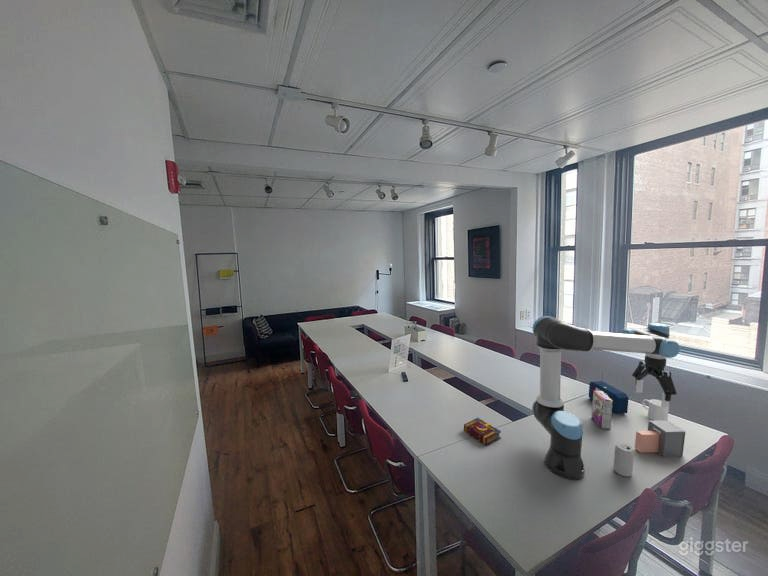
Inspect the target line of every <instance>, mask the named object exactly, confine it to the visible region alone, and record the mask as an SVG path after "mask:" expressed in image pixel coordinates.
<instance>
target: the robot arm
mask: <svg viewBox="0 0 768 576" xmlns="http://www.w3.org/2000/svg"><path fill="white" fill-rule="evenodd" d="M532 333H533V335H534V336H535V337H536V346H537V347H538V348H539V395H537V396H536V398H535V401H534V402H533V403H532V406H531V410H532V414H533V416H534V418H535V419H536V420H537V422H539V423H540V425H541V426H542V427H543V428H544V429H545V431H547V433H548V434H549V435H550V442H549V443H550V444H549V445H550V446H549V448H548V450H547V452H546V454H545V456H544V463H545V466H546V468H547V469H549V471H551V472H552V473H554V475H557V476H559V477H561V478H564V479H567V480H581V479H582V478H584V476H585V465H584V461H583V458H582V446H583V445H582V443H583V434H584V427H583V423H582V420H580V418H579V417H577V416H576V415H575V414H573V413H570V412H568V411H565V410H564V408H565V407H564V405H565V403H564V400H562V398H561V371H562V369H561V368H562V366H561V365H562V351H563V350H564V351H573V352H574V351H576V352H590V351H591V350H596V351H597V350H598V351H608V352H619V353H620V352H621V353H622V352H623V353H637V354H645V355H644V359H643V360H641V361H639V362H638V365H637V366H636V368H635V370H634V371H633V372H632V374H631V375H632V377H634V379H635V393H636V394H641V393H642V394H643V387H644V380H643V379H644V378H646V377H647V376H649V375H650V376H652V377H655V379H656V380H657V382H658V383H659V384H660V387H661V388H662V391H663V392H662V395H661V401H662V404H661V407H669V408H670V402H671V399H672V396H674V395H675V396H676V395H677V393H678V392H677V391H676V390H677V389H676V387H675V385H674V381H673V377H672V372H671V371H667V370H665V367H666V366H667V359H672V358H676V357H677V356H678V355H679V353H680V349H681V346H680V344H679V343H678V342H677V341H675V340H674V339H670V326H669V325H667V324H665V323H659V322H650V323H648V325H647V327H646V328H645V327H644V328H643V327H641V328H631V327H630V328H623V329H621V330H620V332H619V333H618V332H617V333H616V332H608V331H607V332H605V331H595V330H594V331H593V330H591V329H589V328H585V327H584V328H583V327H578V326H577V325H576V326H575V325H573V324H570V323H568V322H565V321H562V320H560V319H558V318H556V317H554V316H549V315H544V316H540V317H538V318H537V319H536V320H535V321H534V323H533V325H532Z"/></svg>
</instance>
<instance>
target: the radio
mask: <svg viewBox="0 0 768 576" xmlns="http://www.w3.org/2000/svg"><path fill="white" fill-rule="evenodd" d="M603 374H604V371H602V372H601V379H603V377H604V376H603ZM588 388H589V389H588V398H589V399H590V401H592V402H593V391H594V390H596V391H603V392H604V393H605V394H606V395H607V396H608V397H609V398H610V399H611V400H612V401H613V405H612V415H619V414H621V415H622V414H628V409H629V399H630V398H629V396H628V395H627V394H626V393H625V392H623V391H622V390H620V389H618V388H616V387H614V386H613V385H610V384H609V383H606V382H605V381H603V380H600V381H590V382H589V387H588Z"/></svg>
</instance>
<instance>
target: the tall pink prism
mask: <svg viewBox="0 0 768 576" xmlns="http://www.w3.org/2000/svg"><path fill="white" fill-rule="evenodd" d="M634 443H635V444H634V450H636V451H637V452H639V453H658V452H659V443H660V433H658V432H657V431H655V430H654V431H648V430H636V433H635V441H634Z"/></svg>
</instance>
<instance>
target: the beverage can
mask: <svg viewBox="0 0 768 576" xmlns="http://www.w3.org/2000/svg"><path fill="white" fill-rule="evenodd" d="M634 458H635V451H634V448H633V446H631V445H629V444H627V443H624V442H616V445H614V457H613V467H612V468H613V470H614V471H615V472H616V473H617V474H618V475H619V476H623V477H631V476H632V475H633V468H634Z"/></svg>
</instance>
